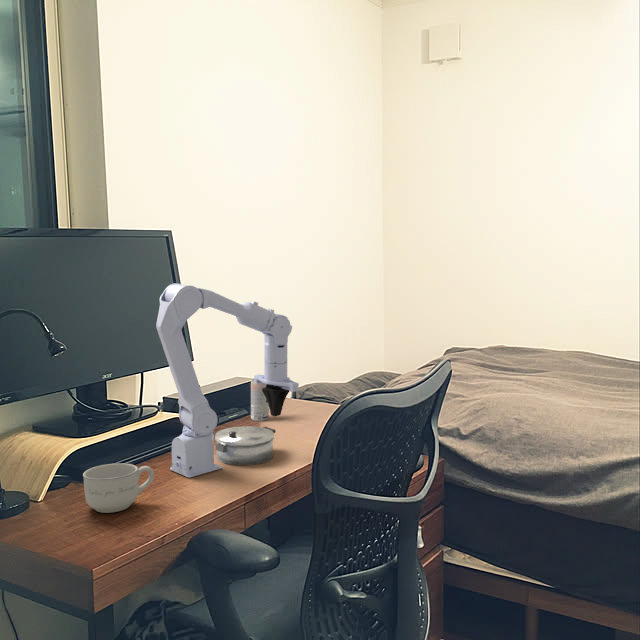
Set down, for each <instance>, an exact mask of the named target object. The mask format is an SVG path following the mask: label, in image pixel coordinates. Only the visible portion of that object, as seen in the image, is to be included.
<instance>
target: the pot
mask: <svg viewBox="0 0 640 640" xmlns="http://www.w3.org/2000/svg"><path fill="white" fill-rule="evenodd" d="M273 440H274V439H273ZM273 440H272V441H271V442H269V443H266V444H263V445H258V446H250V447H235V446H227V445H223V444H220V443H218V442H217V441H216V444H215V450H216V459H217V461H219V462H220V461H221V462H220V463H222V464H226V463H227V465H231V464H233V465H232V466H252V465H258V464H260V465H261V464H263V463H267V462H269V461H271V459H272V458H273V456H274V453H273V450H274V449H273V448H274V447H273V446H274V444H273V443H274V441H273Z"/></svg>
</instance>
